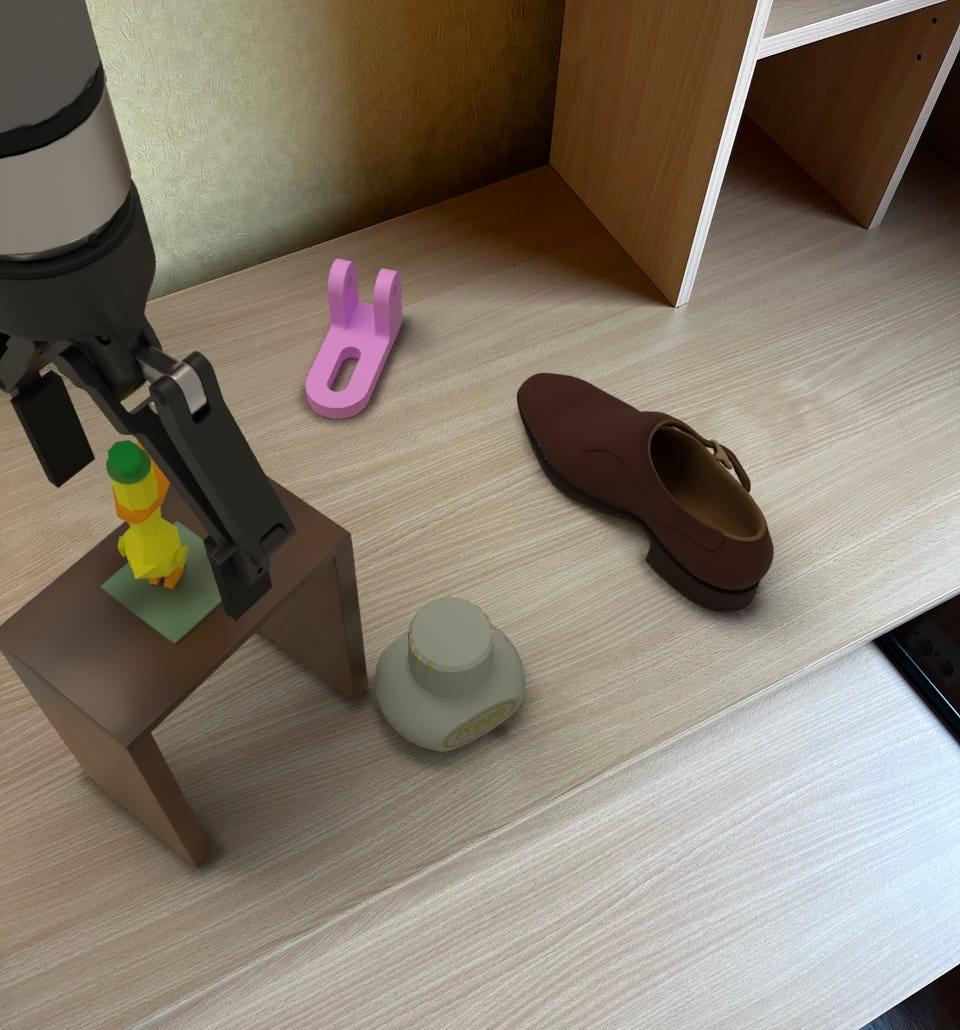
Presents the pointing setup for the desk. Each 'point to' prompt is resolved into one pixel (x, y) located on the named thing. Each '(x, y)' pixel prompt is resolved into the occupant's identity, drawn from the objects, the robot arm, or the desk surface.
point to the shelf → (175, 650)
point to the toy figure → (144, 515)
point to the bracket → (354, 340)
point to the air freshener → (449, 676)
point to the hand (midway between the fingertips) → (158, 533)
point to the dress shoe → (653, 486)
